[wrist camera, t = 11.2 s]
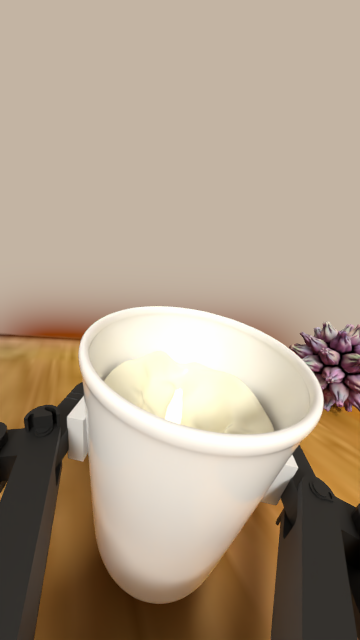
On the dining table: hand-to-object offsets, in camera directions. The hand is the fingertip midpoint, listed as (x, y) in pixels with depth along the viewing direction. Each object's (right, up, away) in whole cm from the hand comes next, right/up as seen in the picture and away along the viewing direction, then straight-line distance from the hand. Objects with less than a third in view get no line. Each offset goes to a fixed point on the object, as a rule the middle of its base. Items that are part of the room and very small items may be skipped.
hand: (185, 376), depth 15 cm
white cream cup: (-2, -8, -2) cm, 8 cm away
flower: (+19, -7, +13) cm, 24 cm away
